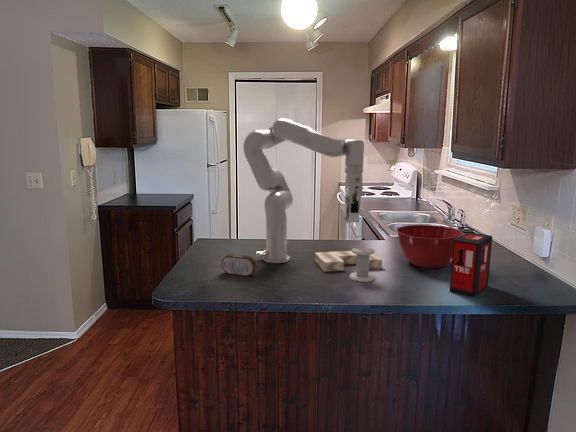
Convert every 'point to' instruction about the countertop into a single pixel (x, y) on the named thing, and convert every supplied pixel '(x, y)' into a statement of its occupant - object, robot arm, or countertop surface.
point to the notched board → (343, 260)
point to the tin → (239, 265)
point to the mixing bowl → (428, 244)
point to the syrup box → (347, 210)
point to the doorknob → (362, 265)
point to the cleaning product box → (470, 264)
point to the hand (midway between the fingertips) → (351, 210)
